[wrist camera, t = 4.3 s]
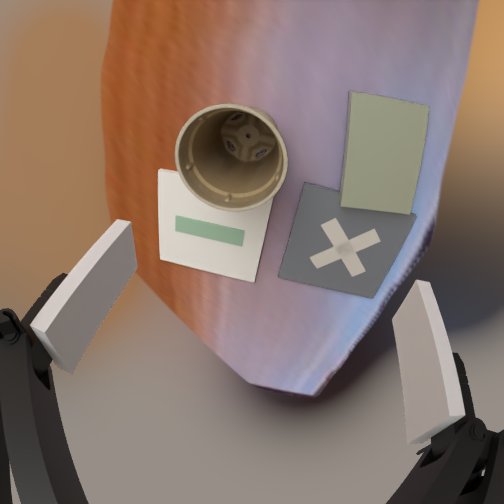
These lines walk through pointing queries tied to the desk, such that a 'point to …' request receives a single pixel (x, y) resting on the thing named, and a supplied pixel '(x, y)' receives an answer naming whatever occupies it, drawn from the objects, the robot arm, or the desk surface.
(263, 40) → the desk surface
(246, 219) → the pad
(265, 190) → the flower pot
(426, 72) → the desk surface
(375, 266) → the pad
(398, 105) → the notebook
